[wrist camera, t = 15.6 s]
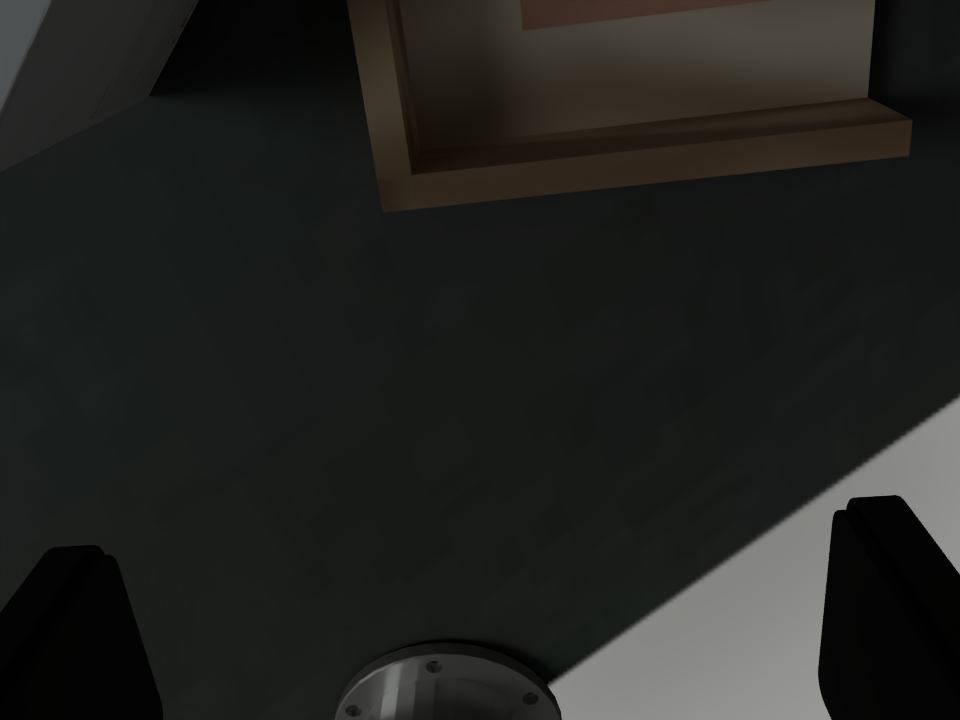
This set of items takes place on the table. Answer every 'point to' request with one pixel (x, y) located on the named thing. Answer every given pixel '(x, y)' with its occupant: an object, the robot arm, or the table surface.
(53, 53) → the small box
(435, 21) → the wooden tray
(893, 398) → the table surface
